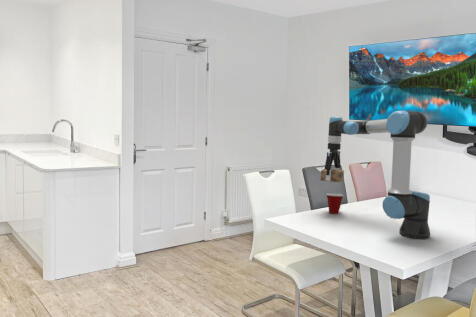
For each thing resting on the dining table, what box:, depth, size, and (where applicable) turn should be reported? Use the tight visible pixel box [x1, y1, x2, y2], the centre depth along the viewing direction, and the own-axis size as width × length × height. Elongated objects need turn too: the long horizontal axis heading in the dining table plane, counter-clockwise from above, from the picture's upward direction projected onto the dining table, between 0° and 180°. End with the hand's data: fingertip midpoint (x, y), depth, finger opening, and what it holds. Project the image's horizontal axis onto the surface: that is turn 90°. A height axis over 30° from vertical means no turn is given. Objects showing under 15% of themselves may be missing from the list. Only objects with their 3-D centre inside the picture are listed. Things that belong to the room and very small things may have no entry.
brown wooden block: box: [320, 168, 345, 183], centre depth 267 cm, size 12×9×6 cm
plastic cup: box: [326, 192, 344, 215], centre depth 276 cm, size 11×11×12 cm
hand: (331, 179), depth 268 cm, fingers closed on brown wooden block, 10 cm apart
